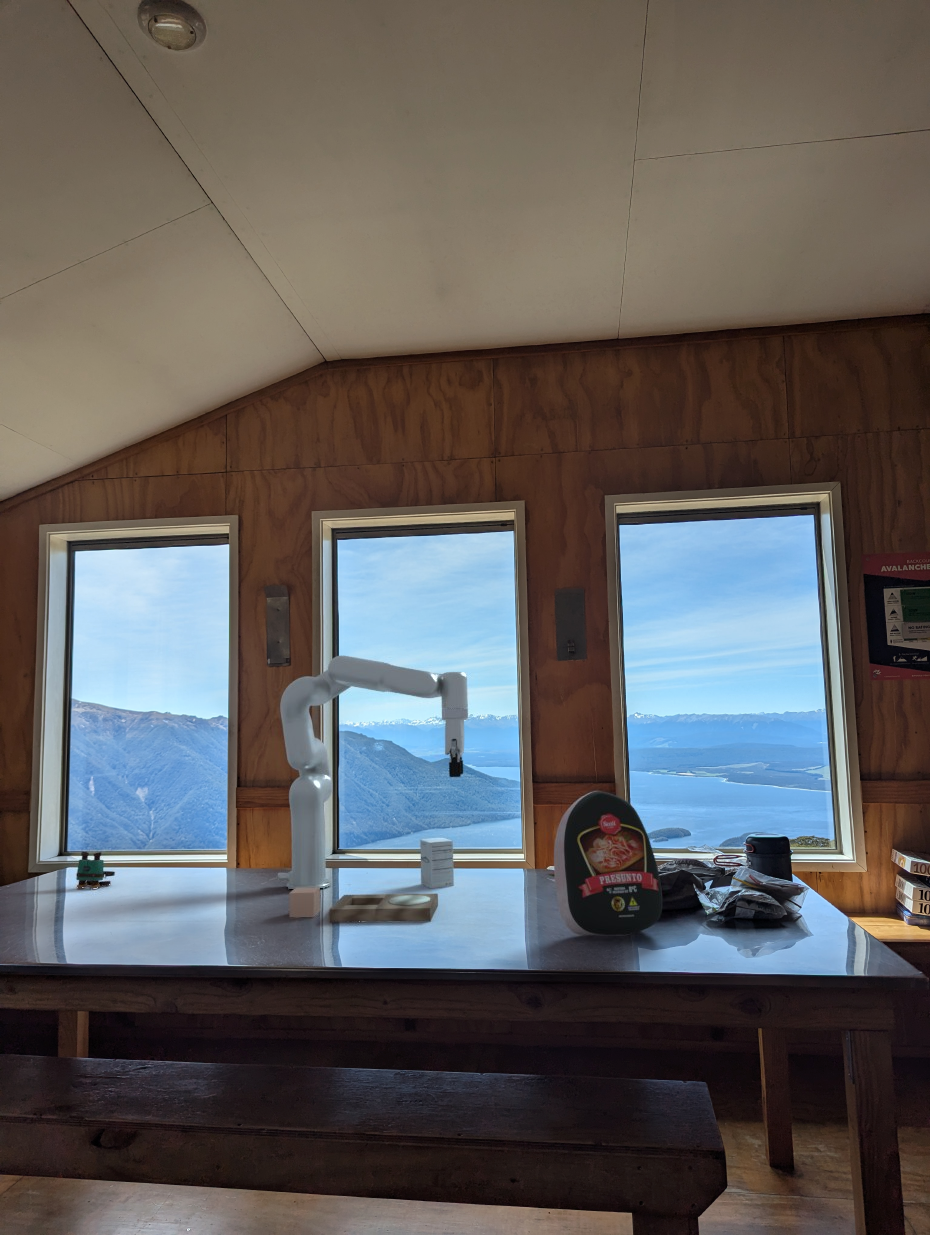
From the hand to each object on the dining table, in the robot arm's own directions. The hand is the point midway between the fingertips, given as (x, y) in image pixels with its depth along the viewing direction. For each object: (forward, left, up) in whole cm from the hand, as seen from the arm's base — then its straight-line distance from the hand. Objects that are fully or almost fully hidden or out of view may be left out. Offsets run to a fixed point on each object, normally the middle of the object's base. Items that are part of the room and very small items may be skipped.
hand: (456, 775), depth 242 cm
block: (-35, -33, -31) cm, 57 cm away
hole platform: (-15, -33, -31) cm, 47 cm away
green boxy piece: (-109, +6, -31) cm, 114 cm away
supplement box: (-6, +1, -31) cm, 31 cm away
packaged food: (+37, -54, -31) cm, 72 cm away
